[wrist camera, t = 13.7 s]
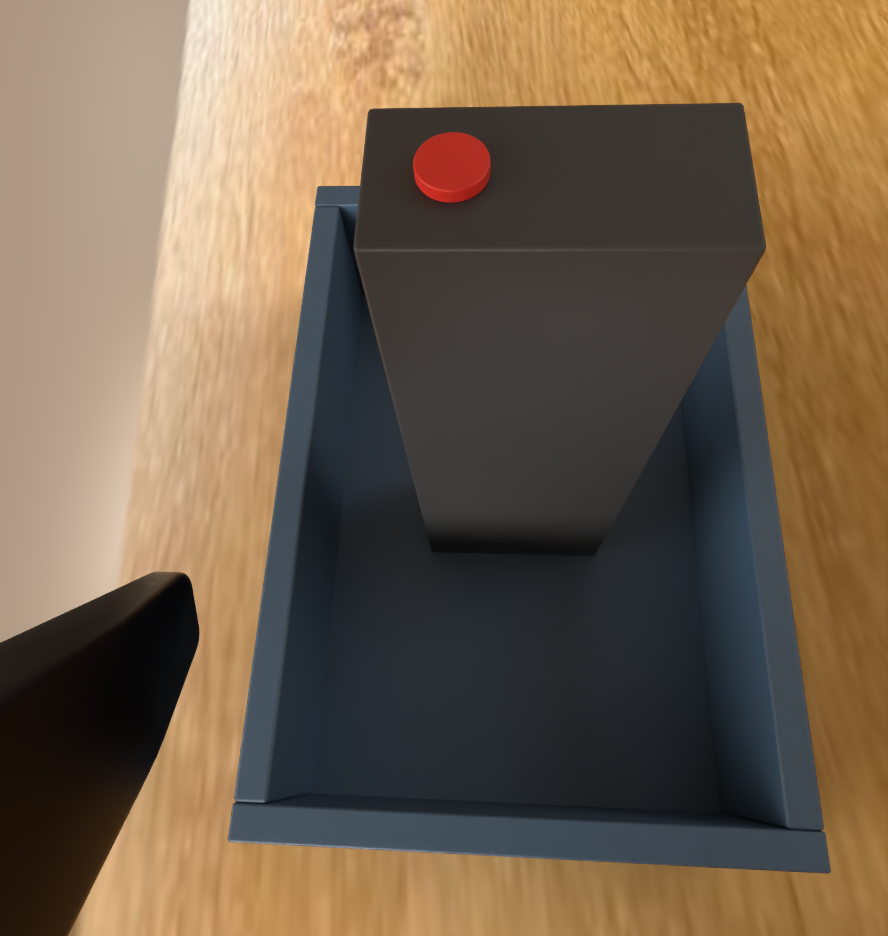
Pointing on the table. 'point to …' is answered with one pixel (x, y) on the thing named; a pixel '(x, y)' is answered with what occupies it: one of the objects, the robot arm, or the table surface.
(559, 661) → the tote
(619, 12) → the table surface
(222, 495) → the table surface
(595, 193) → the block
